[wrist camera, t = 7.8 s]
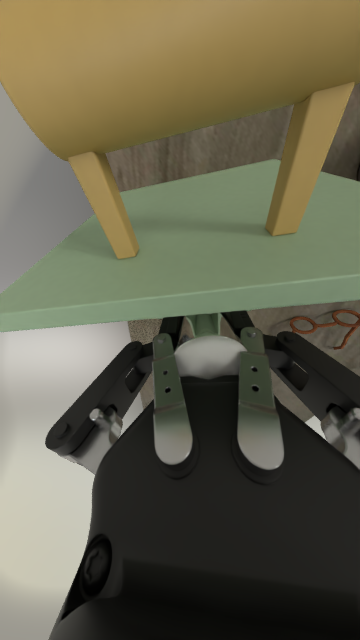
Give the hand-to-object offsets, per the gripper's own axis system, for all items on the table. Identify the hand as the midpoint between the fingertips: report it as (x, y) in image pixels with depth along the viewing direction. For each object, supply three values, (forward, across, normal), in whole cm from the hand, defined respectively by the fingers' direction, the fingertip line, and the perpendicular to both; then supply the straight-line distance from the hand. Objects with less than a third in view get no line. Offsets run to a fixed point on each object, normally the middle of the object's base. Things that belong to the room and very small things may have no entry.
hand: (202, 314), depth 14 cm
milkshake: (+2, 0, 0) cm, 2 cm away
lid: (-1, 0, -7) cm, 7 cm away
